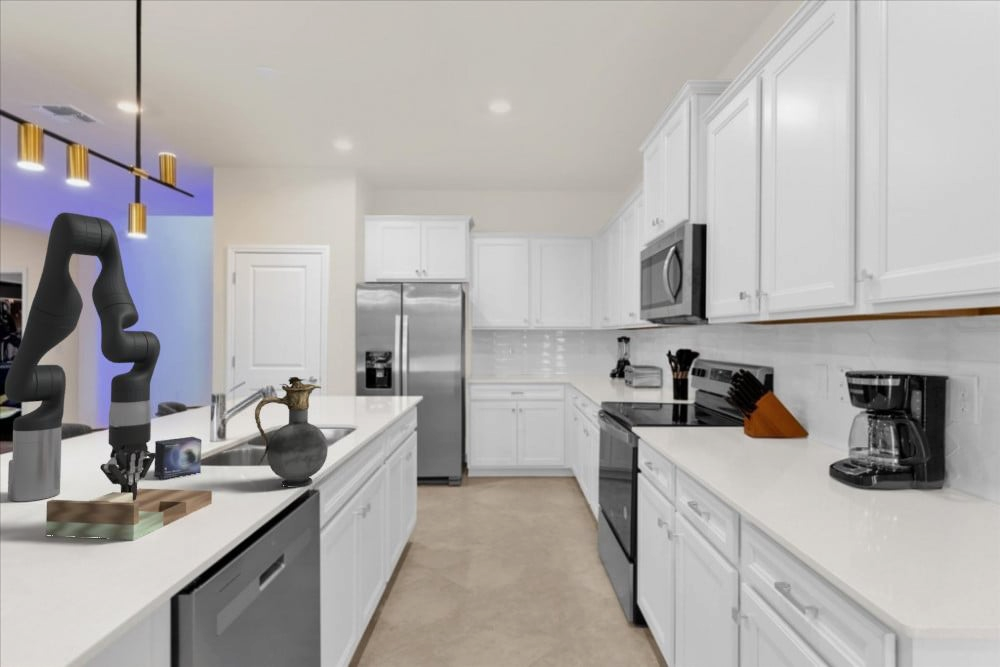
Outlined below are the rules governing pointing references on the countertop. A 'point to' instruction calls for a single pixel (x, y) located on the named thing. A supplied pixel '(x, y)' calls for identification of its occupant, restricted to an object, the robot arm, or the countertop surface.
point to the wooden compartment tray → (123, 514)
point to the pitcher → (294, 438)
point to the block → (115, 497)
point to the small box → (177, 457)
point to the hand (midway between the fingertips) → (128, 501)
